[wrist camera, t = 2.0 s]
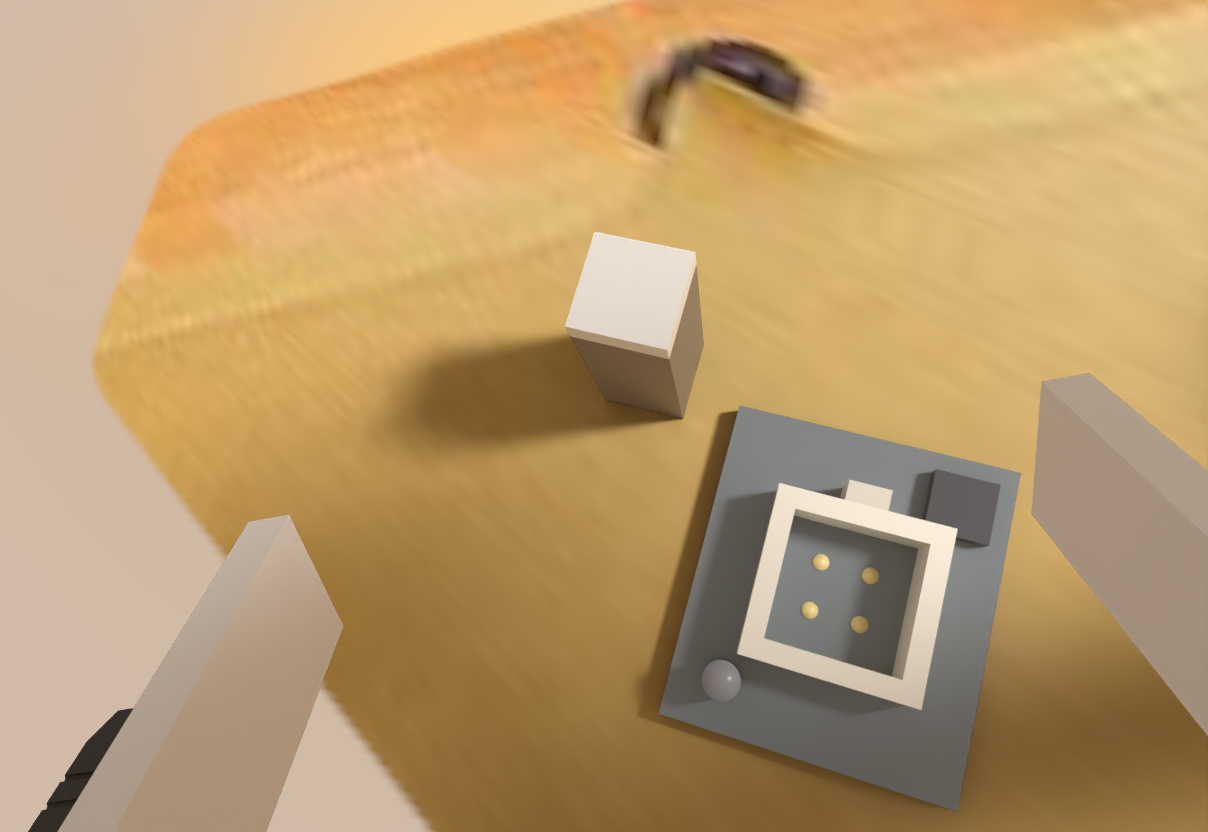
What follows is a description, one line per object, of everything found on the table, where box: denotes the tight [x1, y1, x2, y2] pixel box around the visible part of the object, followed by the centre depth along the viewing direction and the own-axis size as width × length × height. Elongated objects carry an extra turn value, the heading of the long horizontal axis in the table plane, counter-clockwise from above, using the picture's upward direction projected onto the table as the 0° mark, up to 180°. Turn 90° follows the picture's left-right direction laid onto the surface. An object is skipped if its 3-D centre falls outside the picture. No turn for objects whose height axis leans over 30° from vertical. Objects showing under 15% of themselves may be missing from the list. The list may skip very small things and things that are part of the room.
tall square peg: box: [565, 232, 704, 419], centre depth 39 cm, size 4×4×12 cm
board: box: [658, 406, 1021, 812], centre depth 38 cm, size 16×14×4 cm
